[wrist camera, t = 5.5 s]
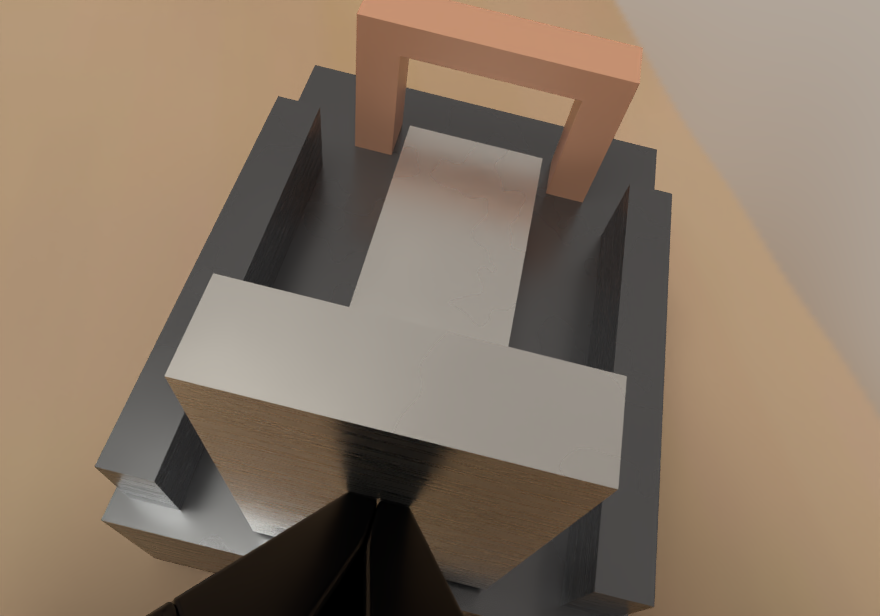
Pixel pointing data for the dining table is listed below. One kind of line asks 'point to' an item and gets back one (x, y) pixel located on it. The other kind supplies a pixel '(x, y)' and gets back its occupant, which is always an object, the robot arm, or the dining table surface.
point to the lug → (495, 74)
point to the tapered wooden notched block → (409, 377)
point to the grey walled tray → (334, 280)
